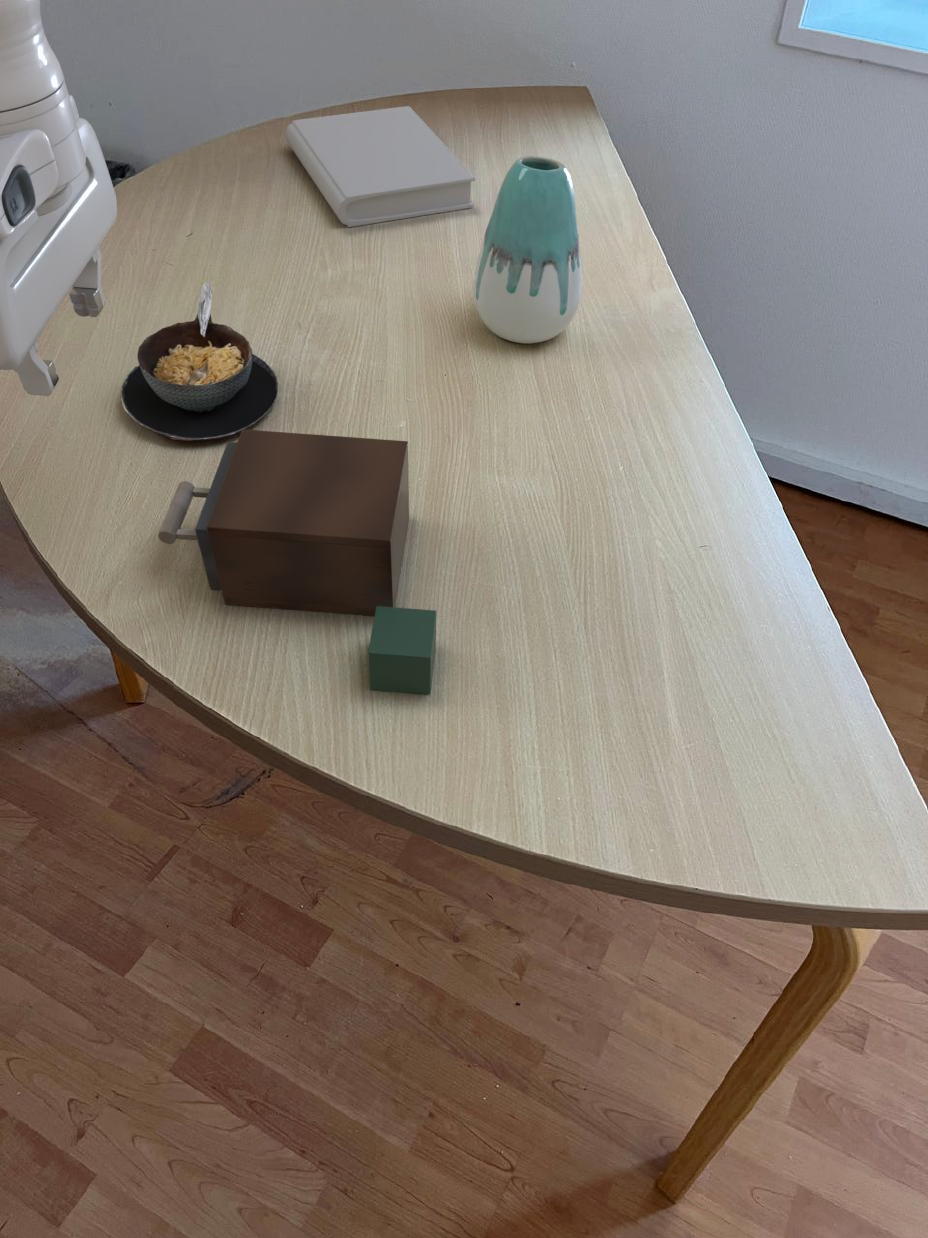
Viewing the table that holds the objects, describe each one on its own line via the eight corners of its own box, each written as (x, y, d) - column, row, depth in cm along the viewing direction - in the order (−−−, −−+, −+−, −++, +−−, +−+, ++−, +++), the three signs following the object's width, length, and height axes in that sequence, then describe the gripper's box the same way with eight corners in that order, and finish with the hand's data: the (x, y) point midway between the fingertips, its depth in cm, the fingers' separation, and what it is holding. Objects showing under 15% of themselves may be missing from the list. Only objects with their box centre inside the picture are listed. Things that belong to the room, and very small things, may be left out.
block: (370, 690, 69) (367, 652, 66) (378, 643, 72) (376, 605, 69) (430, 694, 69) (430, 657, 66) (435, 648, 72) (436, 610, 69)
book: (409, 105, 131) (475, 177, 117) (409, 133, 134) (473, 207, 120) (283, 120, 126) (336, 198, 112) (287, 150, 129) (338, 228, 115)
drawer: (159, 586, 74) (139, 524, 69) (193, 499, 81) (177, 437, 76) (365, 602, 74) (361, 541, 69) (382, 513, 81) (379, 452, 75)
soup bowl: (92, 420, 89) (70, 353, 83) (191, 337, 99) (177, 272, 93) (224, 465, 85) (210, 398, 80) (312, 375, 95) (306, 309, 89)
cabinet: (224, 604, 74) (206, 527, 68) (256, 507, 82) (241, 428, 75) (393, 617, 74) (390, 540, 68) (409, 518, 82) (408, 440, 75)
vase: (527, 288, 108) (543, 125, 94) (598, 332, 102) (625, 166, 88) (450, 320, 103) (454, 153, 89) (519, 369, 97) (535, 199, 83)
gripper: (14, 68, 60) (75, 268, 71) (-142, 217, 47) (-39, 436, 57) (110, 75, 60) (157, 274, 70) (-19, 226, 47) (62, 443, 57)
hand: (68, 348), depth 64 cm, fingers open, 8 cm apart
